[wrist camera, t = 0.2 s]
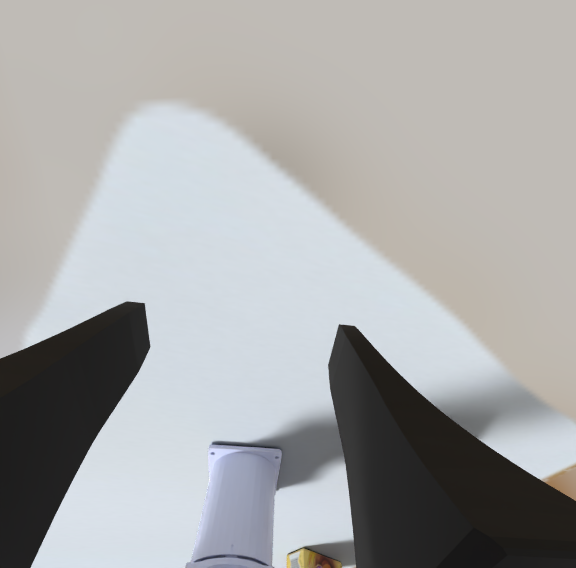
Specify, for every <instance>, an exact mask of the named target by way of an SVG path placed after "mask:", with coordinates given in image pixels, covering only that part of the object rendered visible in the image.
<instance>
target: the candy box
mask: <svg viewBox="0 0 576 568" xmlns="http://www.w3.org/2000/svg"><path fill="white" fill-rule="evenodd" d="M287 568H342V565H341V562H338V561H336V560H334V559H331V558H328V557H325V556H323V555H320V554H318V553H315V552H313V551H310V550H307V549H304V548H303V549H300V550H298V551H295V552H293V553H290V554H288V555H287Z"/></svg>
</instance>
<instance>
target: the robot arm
mask: <svg viewBox="0 0 576 568" xmlns="http://www.w3.org/2000/svg"><path fill="white" fill-rule="evenodd" d="M149 349H150V341H149V334H148V326H147V318H146V311H145V303H137V302H128V301H127V302H125V303H122V304H120V305H118V306H116V307H113V308H111V309H109V310H107V311H105V312H103V313H101V314H99V315H97V316H95V317H93V318H91V319H89V320H86V321H84V322H82V323H80V324H78V325H76V326H74V327H72V328H70V329H68V330H66V331H64V332H61V333H59V334H57V335H55V336H52V337H50V338H48V339H46V340H43V341H41V342H39V343H37V344H35V345H32V346H30V347H28V348H25V349H23V350H21V351H18V352H16V353H13V354H11V355H8V356H6V357H3V358H1V359H0V568H31V565H32V563H33V561H34V559H35V557H36V555H37V552H38V550H39V548H40V546H41V544H42V542H43V540H44V538H45V536H46V533H47V531H48V529H49V527H50V525H51V523H52V521H53V519H54V516H55V514H56V512H57V510H58V508H59V506H60V504H61V502H62V500H63V498H64V496H65V494H66V493H67V491H68V489H69V487H70V485H71V483H72V481H73V479H74V477H75V475H76V473H77V471H78V469H79V467H80V465H81V464H82V462H83V460H84V458H85V456H86V454H87V452H88V450H89V449H90V447H91V445H92V443H93V441H94V440H95V438H96V437H97V435H98V433H99V432H100V430H101V428H102V427H103V425H104V424H105V422H106V421H107V419H108V418H109V416H110V415H111V413H112V412H113V410H114V409H115V407H116V406H117V404H118V403H119V401H120V400H121V398H122V397H123V395H124V394H125V392H126V391H127V389H128V387H129V386H130V384H131V383H132V381H133V380H134V378H135V377H136V375H137V373H138V372H139V370H140V368H141V366H142V364H143V362H144V360H145V358H146V355H147V353H148V351H149ZM328 367H329V380H330V390H331V395H332V400H333V405H334V409H335V414H336V419H337V423H338V428H339V433H340V437H341V442H342V446H343V452H344V457H345V463H346V471H347V479H348V488H349V496H350V506H351V515H352V525H353V535H354V546H355V558H356V568H576V501H575V500H573V499H572V498H570V497H568V496H566V495H565V494H563V493H561V492H560V491H558V490H556V489H555V488H553V487H551V486H549V485H548V484H546V483H545V482H543V481H541V480H540V479H538V478H536V477H534V476H533V475H531V474H530V473H528V472H526V471H525V470H523V469H522V468H520V467H519V466H517V465H516V464H514V463H512V462H511V461H509V460H508V459H506V458H505V457H503V456H502V455H500V454H499V453H497V452H496V451H494V450H493V449H491V448H490V447H488V446H487V445H486V444H484V443H483V442H481V441H480V440H478V439H477V438H476V437H474V436H473V435H472V434H470V433H469V432H467V431H466V430H465V429H463V428H462V427H461V426H459V425H458V424H457V423H455V422H454V421H453V420H451V419H450V418H449V417H448V416H446V415H445V414H444V413H443V412H441V411H440V410H439V409H438V408H437V407H435V406H434V405H433V404H432V403H431V402H429V401H428V400H427V399H426V398H425V397H423V396H422V395H421V394H420V393H419V392H418V391H417V390H416V389H414V388H413V387H412V386H411V385H410V384H409V383H408V382H407V381H406V380H405V379H404V378H403V377H402V376H401V375H400V374H399V373H398V372H397V371H396V370H395V369H394V368H393V367H392V366H391V365H390V364H389V363H388V362H387V361H386V360H385V359H384V358H383V357H382V355H381V354H380V353H379V352H378V351H377V350H376V349H375V348H374V347H373V346H372V344H371V343H370V342H369V341H368V340H367V339H366V338H365V337H364V335H363V334H362V333H361V332H360V331H359V330H358V329H357V328H356V327H355V326H349V325H340V324H339V327H338V330H337V334H336V338H335V342H334V345H333V349H332V353H331V357H330V360H329V364H328ZM281 457H282V451H281V450H280V449H273V448H257V447H242V446H226V445H210V446H209V448H208V461H209V484H208V489H207V493H206V498H205V502H204V506H203V511H202V515H201V519H200V524H199V528H198V532H197V537H196V541H195V545H194V550H193V554H192V558H191V563H186V567H185V568H275V567H273V566H272V553H273V526H274V498H275V493H276V487H277V481H278V475H279V469H280V463H281Z"/></svg>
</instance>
